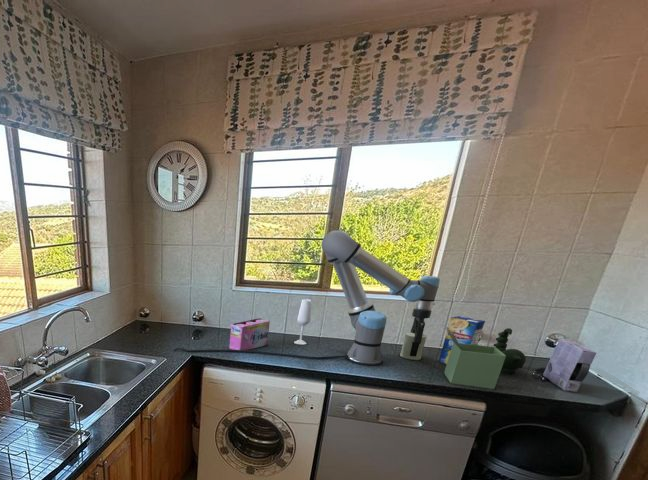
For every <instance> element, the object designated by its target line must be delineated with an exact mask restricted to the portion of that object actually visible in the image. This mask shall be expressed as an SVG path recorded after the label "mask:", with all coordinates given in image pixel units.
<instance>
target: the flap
mask: <svg viewBox="0 0 648 480" xmlns="http://www.w3.org/2000/svg"><path fill="white" fill-rule="evenodd" d="M445 330H446V332H447V331H448V333H449V335H450V337H451V339H452V341H453V342H454V343H455V344H456V345H457V346H458V347H459V348H460V349H461V347H460V345H459V343H458V341H457V339H456V338H455V336H454V334H453V333H452V332H451V331H450V330H449V329H448V326H445Z"/></svg>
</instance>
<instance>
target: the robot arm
mask: <svg viewBox="0 0 648 480" xmlns="http://www.w3.org/2000/svg"><path fill="white" fill-rule="evenodd" d="M321 249H322V251H323V252H324V254H325V258H326V259H327V262H328V264H329V265H333V268H334V270H335V273H336V276H337V278H338V280H339V283H340V286H341V289H342V292H343V294H344V296H345V299H346V302H347V304H348V307H349V309H348V311H347V314H348V316H349V318H350V324H351V326H352V328H353V329H354V330H355V335H354V339H353V343H352V345H351V347H350V348H349V350H348V352H347V354H346V355H330V356H329V355H328V356H311V355H310V356H308V355H300V354H290V353H282V352H281V353H280V352H272V351H261V350H251V349H250V350H232V349H222V348H221V349H215V348H214V349H209V348H207V349H187V348H184V347H175V348H174V349H173V350H172V351H173V352H175V351H177V350H180V351H184V352H188V353H189V352H190V353H195V352H197V353H198V352H229V353H230V352H232V353H233V352H234V353H251V354H252V353H253V354H265V355H274V356H283V357H292V358H302V359H310V360H311V359H312V360H325V359H341V358H342V359H343V358H344V359H345V358H346V359H347V360H348V361H349V362H351V363H355V364H359V365H366V366H378V365H381V364H382V362H383V356H382V349H381V346H382V341H383V337H384V333H385V330H386V329H385V328H386V325H387V315H386V314H385V313H382V312H380V311H376V309H375V306H374V303H373V302H372V301H369V300H368V297H367V294H366V292H365V289H364V287H363V284H362V282H361V278H360V275H359V273H358V271H357V269H359V270H360V271H362V272H363V273H365V274H366V275H368V276H370V277H371V278H372V279H374V280H376V281H377V282H379V283H380V284H382V285H383V286H385V287H386V288H388V289H389V294H390V295H391V296H401V297H402V298H403V299H405V300H406V301H408V302H412V303H414V305H413V309H412V313H411V316H412V317H413V323H412V326H411V329H410V332H411V333H415V336H414V342H412V343H413V344H412V348H411V351H410V356H415V357H416V355H417V351H418V347H419V344H421V340H422V335H423V334H424V330H425V327H426V321H425V319H430V318H431V315H432V313H433V312H432V310H433V308H434V305H436V303H435V300H436V296H437V293H438V289H439V285H440V278H439V276H435V275H434V276H433V275H422V276H421V277H420V279H417V280H415V279H410V278H408V277H407V276H405V275H404V274H402V273H401V272H399V271H397V270H396V269H394V268H393V267H392V266H390V265H388V264H387V263H386V262H384V261H382V260H381V259H379V258H378V257H376V256H375V255H373V254H371V253H370V252H368V251H367V250H365V249H364V248H362V244H360V243H359V241H358V242H357V240H355V239H354V238H353V237H352V236H351V235H350V234H349V233H347V232H346V231H344V230H340V229H334V230H332V231H329V232H328V233H326V234H325V235H324V236H323V238H322V239H321Z"/></svg>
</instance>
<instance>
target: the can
mask: <svg viewBox="0 0 648 480" xmlns="http://www.w3.org/2000/svg"><path fill="white" fill-rule="evenodd" d="M414 336H415V333H411V331H410V332H405V334H404V338H403V343H402V346H401V350H400V354H399V356H400V357H401V358H403V359H407V360H413V361H418V360H421V359H422V355H423V352H424V347H425V344H426V341H427V338H428V336H427V334H424V333H423V335H422V340H421V344H419V347H418V351H417V355H416V357H415V356H410V351H411V348H412V344H413V343H412V342H414Z"/></svg>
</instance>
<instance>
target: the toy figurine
mask: <svg viewBox="0 0 648 480" xmlns="http://www.w3.org/2000/svg"><path fill="white" fill-rule="evenodd" d="M512 334H513V329H512V328H510V327H508V328H507V327H506V328H505V329H503V331H501V332H498V333H497V335H498V337H496V338H495V341H496V343H494V344H493V346H492V347H496V348H497V349H498V350H499V351H501V352H502V353H503V354H504V355H506V357H505V360H504V363H503V366H502V372H503V374H507V375H513V374H515V372H516V370H518V369H522V368H523V366H524V365H525V363H526V361H527V359H526V355H525V354H524V352H522V351H521V350H520V349H516V348H508V344H507V343H508V342H509V336H511V335H512Z"/></svg>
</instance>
